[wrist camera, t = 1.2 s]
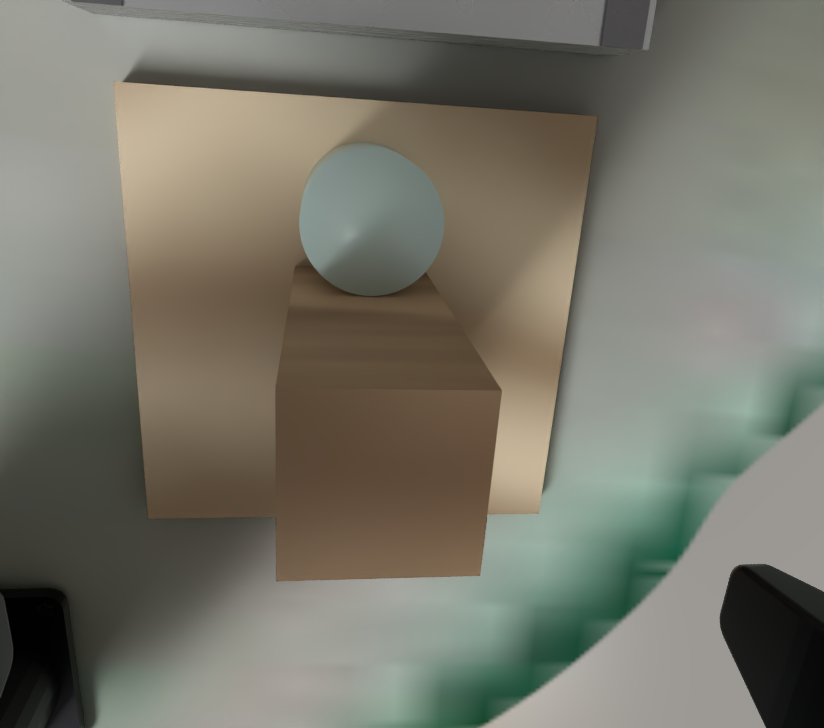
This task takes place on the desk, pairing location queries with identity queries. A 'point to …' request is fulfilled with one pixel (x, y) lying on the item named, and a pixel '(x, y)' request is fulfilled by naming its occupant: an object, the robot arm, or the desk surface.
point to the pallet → (253, 233)
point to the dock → (426, 19)
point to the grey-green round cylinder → (370, 219)
